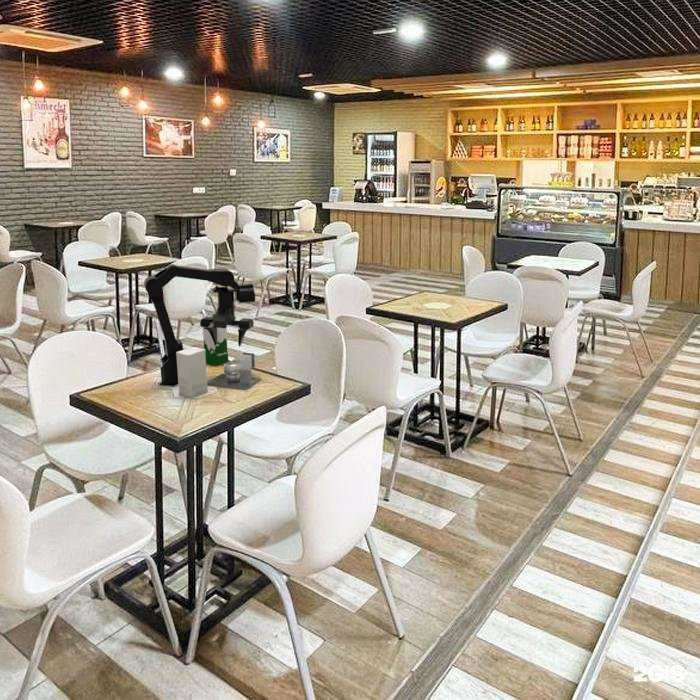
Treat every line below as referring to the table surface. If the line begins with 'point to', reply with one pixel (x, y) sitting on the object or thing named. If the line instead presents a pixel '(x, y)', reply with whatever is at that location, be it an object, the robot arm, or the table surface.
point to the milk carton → (216, 347)
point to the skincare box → (192, 372)
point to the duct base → (230, 384)
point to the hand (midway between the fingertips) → (227, 345)
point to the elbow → (239, 363)
